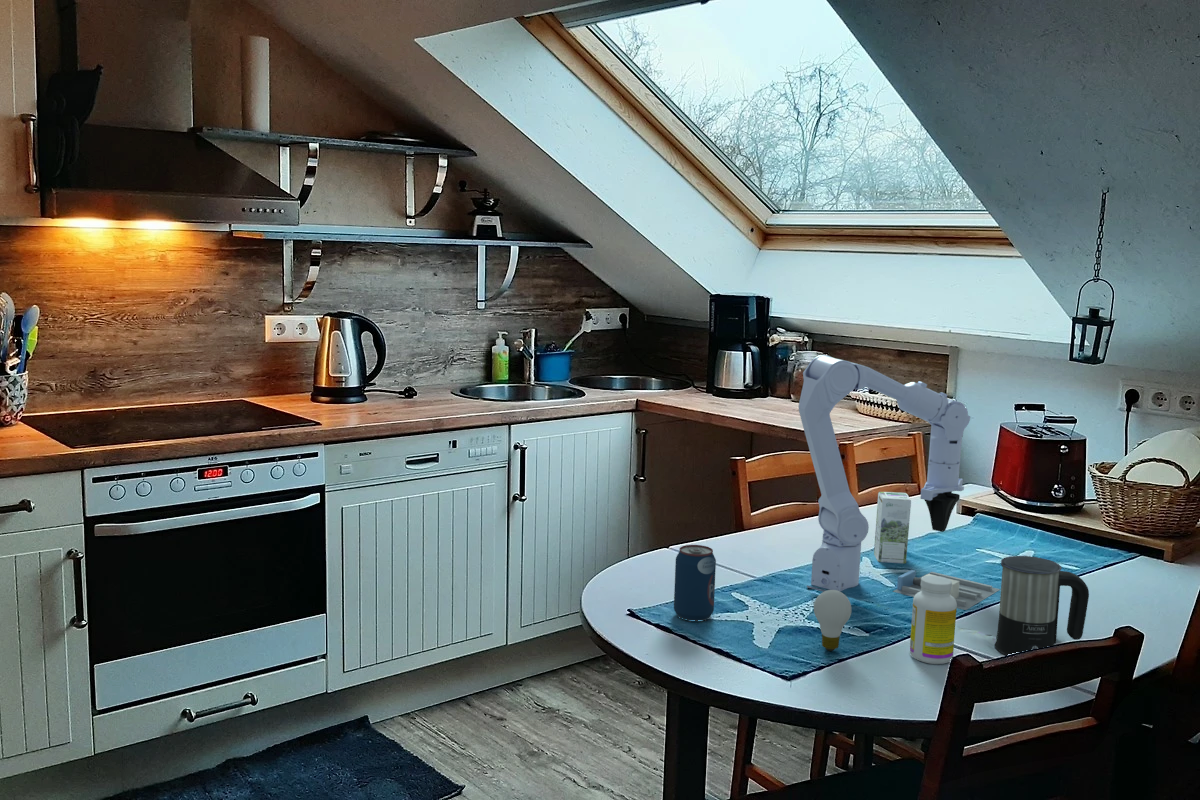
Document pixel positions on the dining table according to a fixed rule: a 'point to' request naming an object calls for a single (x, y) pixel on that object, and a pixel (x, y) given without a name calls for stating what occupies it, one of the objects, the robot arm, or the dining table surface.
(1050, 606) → the milk frother
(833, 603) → the light bulb
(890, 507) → the syrup box
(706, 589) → the soda can
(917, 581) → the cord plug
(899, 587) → the grey flat ridged plate
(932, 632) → the supplement bottle
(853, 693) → the dining table surface
